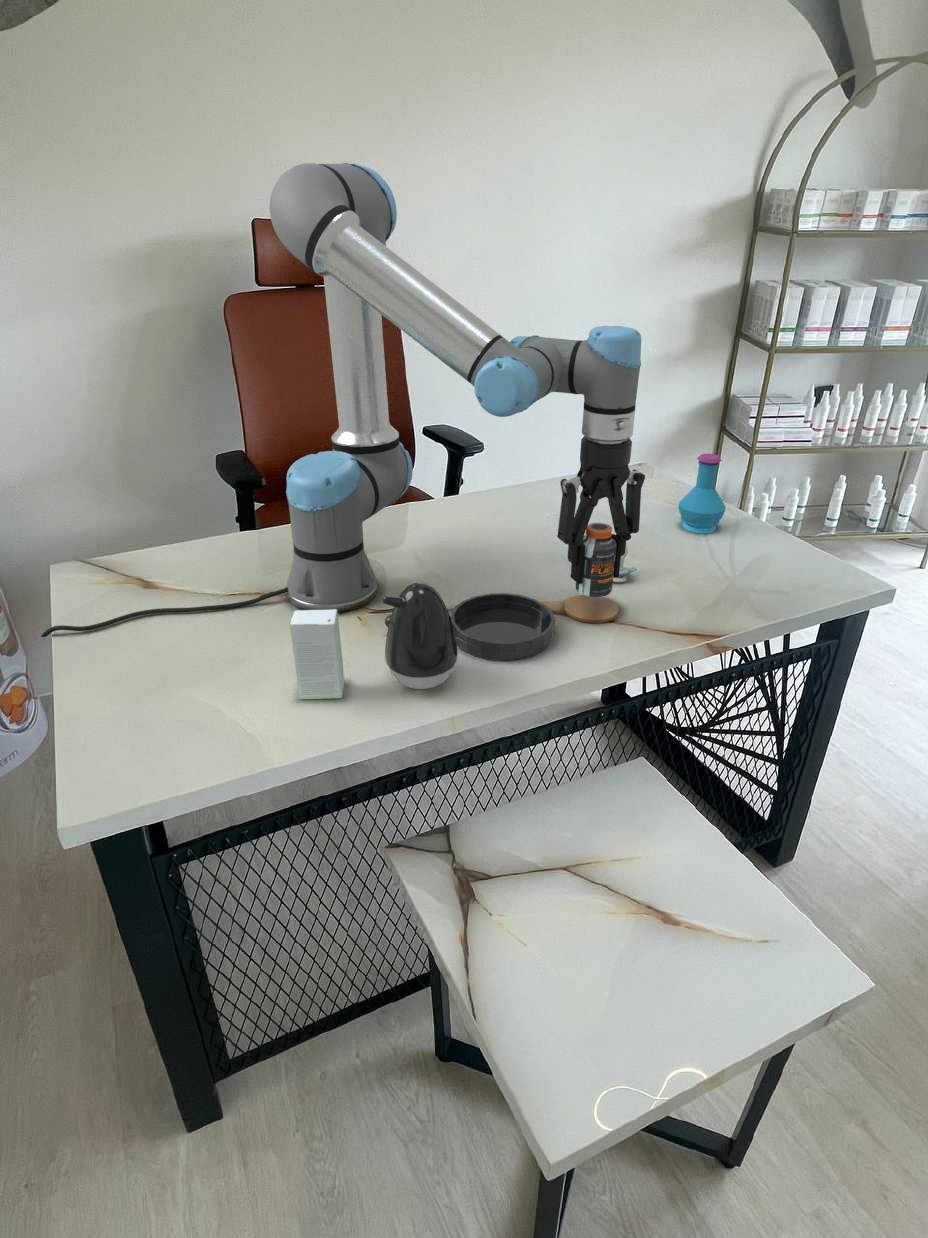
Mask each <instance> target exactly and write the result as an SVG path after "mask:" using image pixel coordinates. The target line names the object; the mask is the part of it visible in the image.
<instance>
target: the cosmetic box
mask: <svg viewBox="0 0 928 1238" xmlns="http://www.w3.org/2000/svg"><path fill="white" fill-rule="evenodd" d="M289 631H290V638H291V646H292V652H293V653H292V654H293V660H294V669H295V676H296V685H297V693H298V699H299V700H319V699H321V700H322V699H323V700H325V699H342V698H343V692H344V686H345V673H344V662H343V653H342V652H343V651H342V643H341V632H340V621H339V612H338V611H337V609H332V610H303V609H297V610H296V609H295V610H294V611H293V614H292V616H291V620H290V622H289Z"/></svg>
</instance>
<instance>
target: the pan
mask: <svg viewBox="0 0 928 1238" xmlns="http://www.w3.org/2000/svg"><path fill="white" fill-rule="evenodd" d="M449 615H450V617H451V621H452V624H453V628H454V632H455V638H456V644H457V648H458V649H460V650H461V651H462V652H464V653H467V654H468V655H470V656H473V657H476V658H479V659H484V660H491V661H502V662H506V661H507V662H509V661H510V662H511V661H519V660H524V659H525V660H526V659H529V658H531V657H534V656H537V655H539V654H541V653H543V652H545V651H546V650H547V649H548V648H549V647H550V646H551V644H552V643H553V640H554V637H555V630H556V629H555V626H556V619H555V615H554V612H553V611H552V610H551V608H549V607H548V605H546V604H544V603H543V602H541V601H540V600H537V599H536V598H532V597H529V596H525V595H522V594H515V593H509V592H507V593H506V592H494V593H491V592H490V593H486V594H479V595H475V596H471V597H470V598H466V599H463V600H462V601H461V602H459V603H458V604H457V605H455V606H454V608H453V609H452V611H451V612H450V613H449Z"/></svg>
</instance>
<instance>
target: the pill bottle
mask: <svg viewBox="0 0 928 1238" xmlns="http://www.w3.org/2000/svg"><path fill="white" fill-rule="evenodd" d="M612 534H613V527H612V526H611V525H610V524H607V523H604V522H591V523H590V522H589V523H588V526H587V528H586V531H585V534H584V537H583V539H582V542H581V543H582V544H583V545H585V558H584V570H583V583H581V584H578V583H577V582H575V590H576V591H577V592H578V593H579V595H584V596H588V597H607V596H609V595H610V594H611V593H612V590H613V583H614V582H613V574H614V566H615V557H616V546H617V544H616V541H615V540H614V539H613V538H612V537H611V536H612Z"/></svg>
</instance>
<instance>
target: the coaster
mask: <svg viewBox="0 0 928 1238" xmlns="http://www.w3.org/2000/svg"><path fill="white" fill-rule="evenodd" d="M563 610H564V612H565V614H566V615H567V616H568V617H570V618H571V619H573V620H576V621H579V622H583V623H588V624H601V623H602V624H603V623H608V622H610V621H613V620H614V619H616V618H617V617H618V615H619V613H620V608H619V605H618V603H616V602H615V601H614V600H612V599H610V598H608V597H607V596H604V597H588V596H584V595H582V594H579V595H578V594H577V595H575V596H572V597H570V598H567V600H566V601H565V602H564V604H563Z"/></svg>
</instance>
